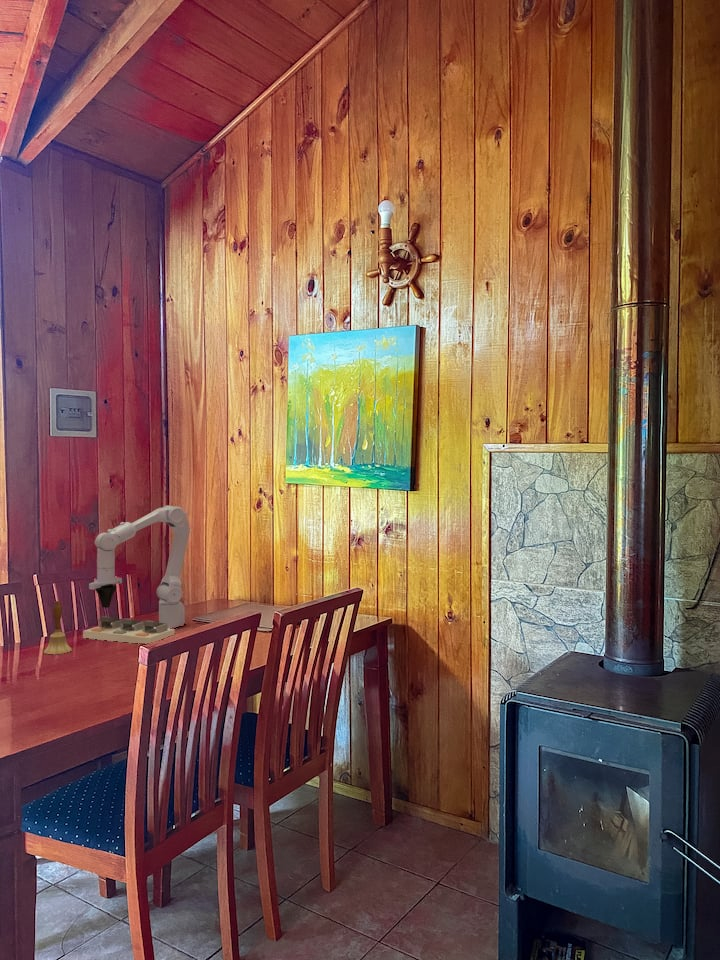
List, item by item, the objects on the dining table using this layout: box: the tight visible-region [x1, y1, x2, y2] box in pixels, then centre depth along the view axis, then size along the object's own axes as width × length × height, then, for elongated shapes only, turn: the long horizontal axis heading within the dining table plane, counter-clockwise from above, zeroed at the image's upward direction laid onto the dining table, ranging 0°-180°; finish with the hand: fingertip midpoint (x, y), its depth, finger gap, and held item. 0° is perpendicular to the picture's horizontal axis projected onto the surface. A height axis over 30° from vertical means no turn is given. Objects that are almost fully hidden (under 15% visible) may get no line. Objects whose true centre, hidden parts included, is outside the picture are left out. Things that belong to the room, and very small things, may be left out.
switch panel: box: [82, 620, 176, 645], centre depth 248 cm, size 14×27×5 cm, turn 70°
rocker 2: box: [142, 620, 166, 627], centre depth 247 cm, size 8×4×2 cm, turn 160°
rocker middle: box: [120, 618, 144, 625], centre depth 250 cm, size 8×4×2 cm, turn 160°
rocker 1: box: [98, 615, 122, 623], centre depth 253 cm, size 8×4×2 cm, turn 160°
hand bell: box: [43, 600, 73, 656], centre depth 228 cm, size 8×8×16 cm
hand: (105, 607), depth 250 cm, fingers closed
